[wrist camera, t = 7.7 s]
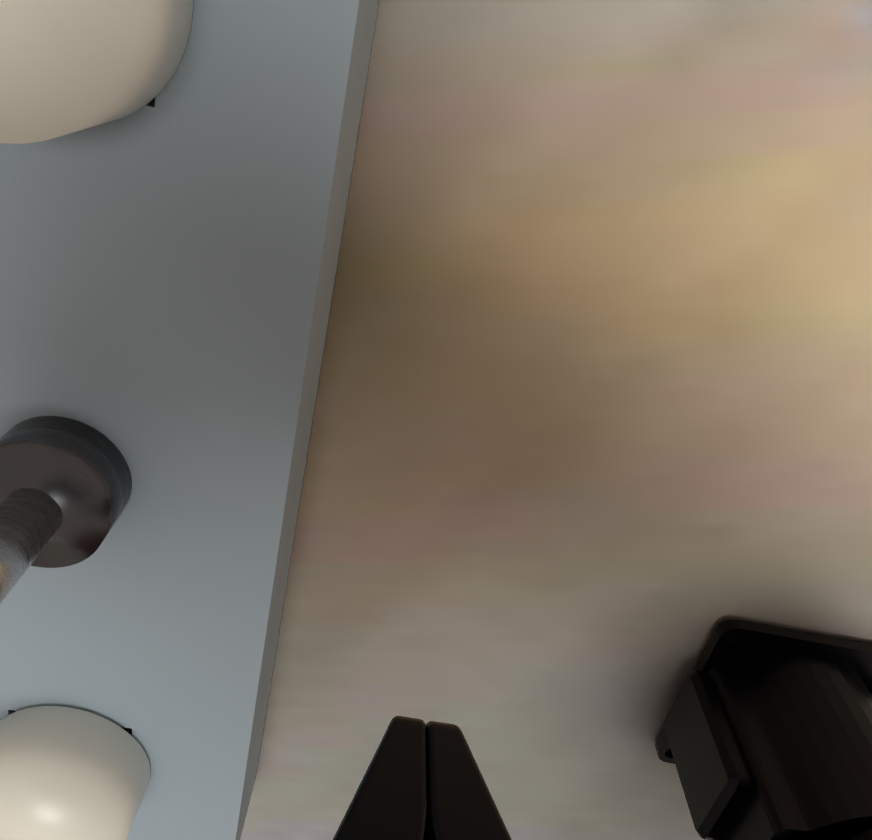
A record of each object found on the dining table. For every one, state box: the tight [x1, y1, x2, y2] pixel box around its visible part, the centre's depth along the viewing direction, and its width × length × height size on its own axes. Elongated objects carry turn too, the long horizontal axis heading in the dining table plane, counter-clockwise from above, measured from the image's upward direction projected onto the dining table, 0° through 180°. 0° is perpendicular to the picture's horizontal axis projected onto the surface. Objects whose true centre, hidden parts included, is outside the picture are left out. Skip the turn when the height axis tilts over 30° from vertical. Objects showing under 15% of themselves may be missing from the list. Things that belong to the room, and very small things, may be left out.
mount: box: [0, 0, 379, 840], centre depth 19 cm, size 10×30×4 cm, turn 168°
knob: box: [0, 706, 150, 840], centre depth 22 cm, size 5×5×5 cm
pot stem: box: [0, 416, 132, 604], centre depth 15 cm, size 3×3×6 cm
